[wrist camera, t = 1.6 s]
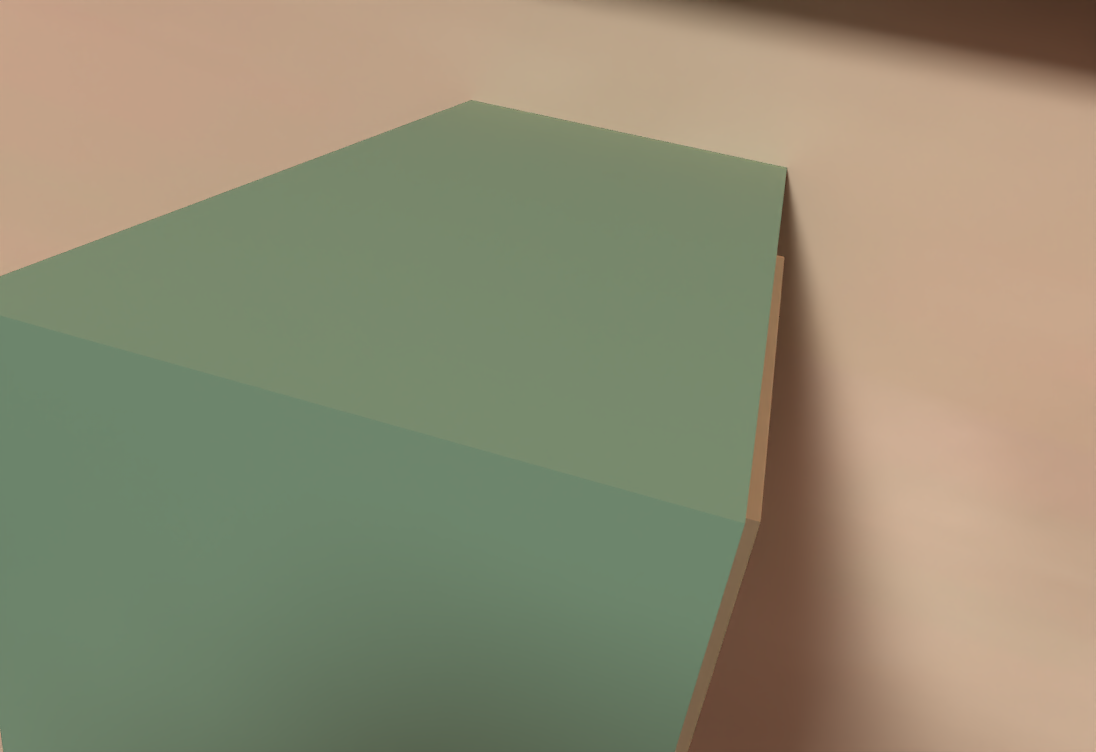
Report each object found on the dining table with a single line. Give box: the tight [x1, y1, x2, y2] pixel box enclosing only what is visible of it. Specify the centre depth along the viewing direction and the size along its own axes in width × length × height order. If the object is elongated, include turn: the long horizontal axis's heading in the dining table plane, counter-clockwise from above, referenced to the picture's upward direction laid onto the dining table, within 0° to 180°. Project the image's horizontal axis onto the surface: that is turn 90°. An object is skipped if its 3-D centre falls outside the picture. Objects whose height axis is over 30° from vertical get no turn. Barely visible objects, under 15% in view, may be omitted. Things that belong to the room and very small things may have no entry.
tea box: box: [0, 100, 787, 752], centre depth 10 cm, size 5×7×9 cm
